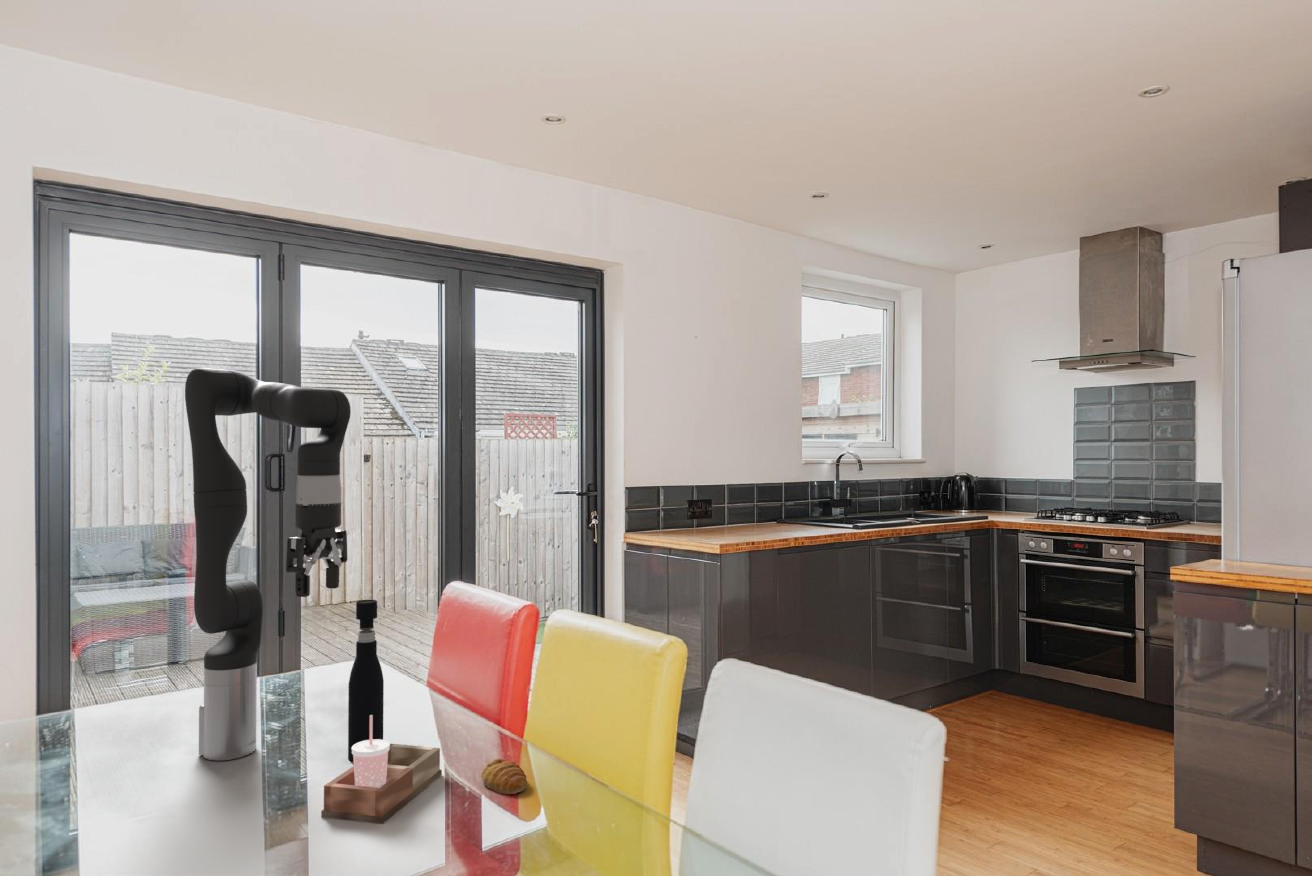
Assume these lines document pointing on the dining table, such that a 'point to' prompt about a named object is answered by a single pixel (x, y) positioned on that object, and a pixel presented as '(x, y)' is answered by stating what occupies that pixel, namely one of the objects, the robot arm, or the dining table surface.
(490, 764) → the pastry
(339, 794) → the cup holder
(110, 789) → the dining table surface
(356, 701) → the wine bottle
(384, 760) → the beverage cup
